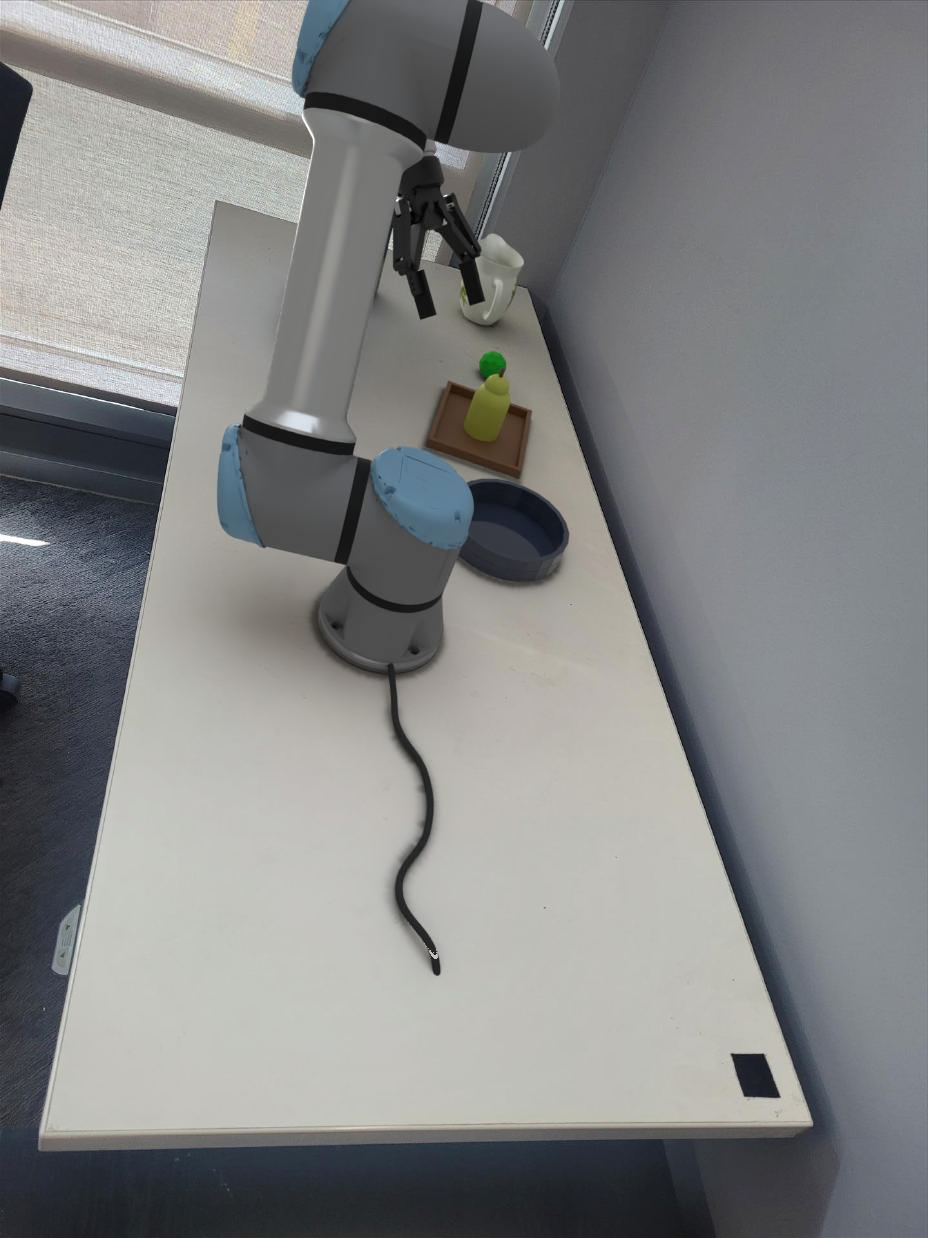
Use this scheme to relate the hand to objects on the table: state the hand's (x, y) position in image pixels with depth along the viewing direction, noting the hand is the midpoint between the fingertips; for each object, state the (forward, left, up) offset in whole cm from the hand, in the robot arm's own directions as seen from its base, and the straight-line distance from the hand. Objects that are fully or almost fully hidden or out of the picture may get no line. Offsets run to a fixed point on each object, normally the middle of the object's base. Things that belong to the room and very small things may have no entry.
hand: (454, 310), depth 128 cm
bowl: (-30, -17, -17) cm, 38 cm away
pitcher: (+38, -4, -17) cm, 42 cm away
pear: (-4, -10, -16) cm, 20 cm away
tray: (-4, -10, -17) cm, 20 cm away
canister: (+31, +21, -17) cm, 41 cm away
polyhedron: (+16, -9, -17) cm, 25 cm away
